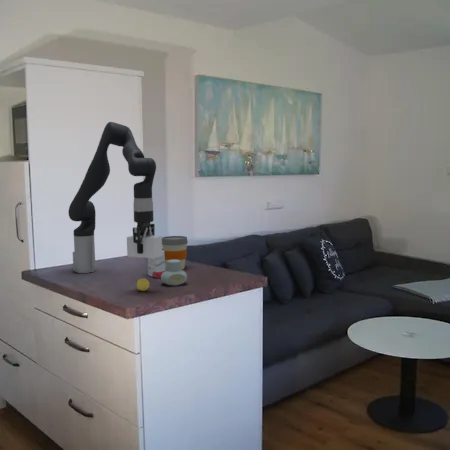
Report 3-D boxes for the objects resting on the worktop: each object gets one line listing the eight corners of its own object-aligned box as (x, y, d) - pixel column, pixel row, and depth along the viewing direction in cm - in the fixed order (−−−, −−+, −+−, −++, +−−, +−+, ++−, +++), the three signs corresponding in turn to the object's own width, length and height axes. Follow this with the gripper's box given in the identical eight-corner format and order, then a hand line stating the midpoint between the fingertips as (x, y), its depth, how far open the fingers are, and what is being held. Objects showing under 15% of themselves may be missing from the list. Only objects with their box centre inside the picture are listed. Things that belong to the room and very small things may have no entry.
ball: (147, 289, 197) (137, 294, 199) (153, 286, 202) (144, 291, 204) (141, 277, 197) (132, 282, 199) (148, 275, 202) (138, 280, 204)
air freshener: (184, 281, 218) (183, 258, 216) (189, 285, 210) (189, 261, 209) (159, 283, 214) (158, 259, 213) (163, 287, 206) (163, 263, 205)
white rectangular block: (127, 256, 198) (126, 237, 197) (135, 253, 204) (135, 234, 203) (154, 258, 194) (154, 238, 193) (162, 255, 200) (161, 235, 199)
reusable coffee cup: (164, 266, 251) (163, 235, 249) (189, 265, 250) (188, 235, 248) (160, 271, 238) (159, 239, 236) (186, 271, 238) (186, 239, 236)
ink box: (166, 277, 225) (165, 250, 224) (155, 278, 223) (155, 252, 221) (157, 273, 233) (156, 248, 231) (147, 275, 230) (146, 249, 228)
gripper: (143, 208, 205) (144, 248, 207) (125, 211, 191) (127, 254, 193) (160, 208, 202) (161, 249, 204) (143, 211, 189) (144, 255, 191)
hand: (144, 251), depth 199 cm, fingers closed on white rectangular block, 6 cm apart
